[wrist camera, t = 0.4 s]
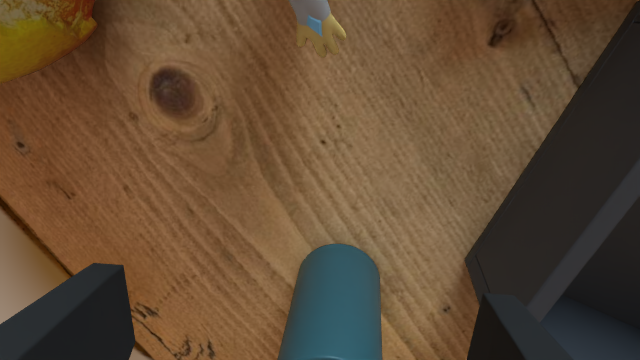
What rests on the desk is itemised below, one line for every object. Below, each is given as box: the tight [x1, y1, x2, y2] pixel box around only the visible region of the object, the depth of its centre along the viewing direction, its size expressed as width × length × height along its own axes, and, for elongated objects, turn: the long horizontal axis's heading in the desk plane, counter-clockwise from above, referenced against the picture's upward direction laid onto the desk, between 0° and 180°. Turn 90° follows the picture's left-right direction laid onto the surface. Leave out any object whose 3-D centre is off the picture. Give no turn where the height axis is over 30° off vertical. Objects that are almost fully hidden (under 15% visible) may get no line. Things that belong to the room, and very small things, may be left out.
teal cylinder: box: [277, 244, 382, 360], centre depth 19 cm, size 4×4×7 cm
